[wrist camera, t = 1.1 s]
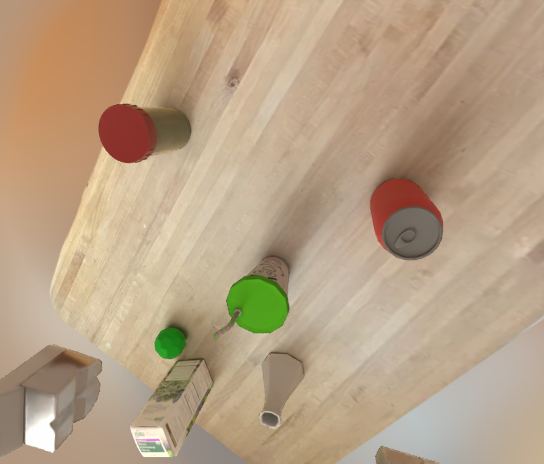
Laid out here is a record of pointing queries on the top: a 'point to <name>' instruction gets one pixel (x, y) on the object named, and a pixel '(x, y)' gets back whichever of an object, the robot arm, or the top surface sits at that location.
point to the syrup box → (172, 409)
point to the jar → (169, 128)
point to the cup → (260, 298)
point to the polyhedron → (170, 343)
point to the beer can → (405, 220)
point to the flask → (278, 386)
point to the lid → (127, 133)
